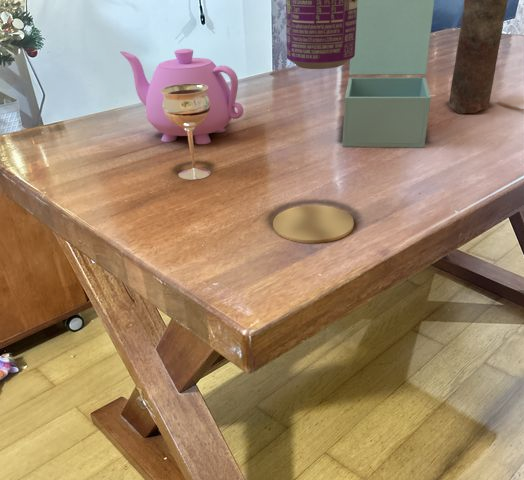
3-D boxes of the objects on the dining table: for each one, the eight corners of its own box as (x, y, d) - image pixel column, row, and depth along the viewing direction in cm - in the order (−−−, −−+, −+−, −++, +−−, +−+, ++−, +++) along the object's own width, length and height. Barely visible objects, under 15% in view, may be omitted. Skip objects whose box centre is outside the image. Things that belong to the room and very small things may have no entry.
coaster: (331, 202, 72) (331, 200, 72) (368, 233, 65) (368, 230, 64) (261, 216, 70) (261, 213, 69) (291, 249, 62) (291, 246, 62)
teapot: (114, 144, 96) (96, 57, 88) (154, 119, 107) (142, 41, 99) (228, 152, 90) (221, 60, 81) (259, 125, 101) (255, 42, 93)
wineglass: (170, 168, 85) (158, 85, 77) (213, 163, 86) (205, 81, 78) (174, 184, 80) (162, 96, 72) (220, 178, 81) (212, 91, 73)
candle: (441, 105, 107) (460, -16, 95) (477, 103, 108) (500, -19, 95) (456, 116, 101) (478, -13, 89) (494, 113, 102) (521, -15, 89)
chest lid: (437, -28, 88) (434, -22, 92) (355, -25, 90) (355, -19, 94) (426, 74, 94) (423, 76, 97) (349, 74, 96) (349, 76, 100)
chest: (424, 147, 88) (431, 97, 83) (342, 146, 90) (344, 97, 85) (419, 122, 99) (425, 77, 94) (346, 122, 101) (349, 77, 96)
